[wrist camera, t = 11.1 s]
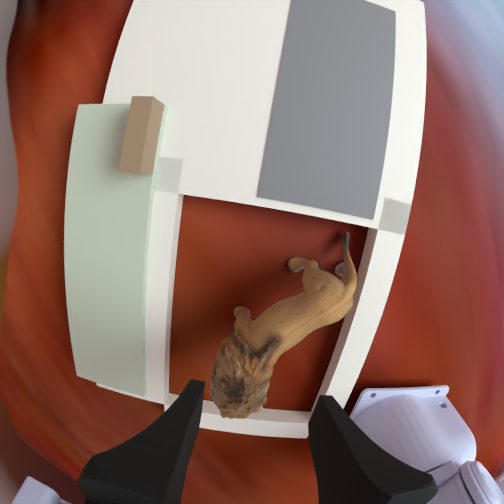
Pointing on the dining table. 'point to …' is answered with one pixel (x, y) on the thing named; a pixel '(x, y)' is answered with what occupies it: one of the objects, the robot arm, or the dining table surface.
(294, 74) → the puzzle board
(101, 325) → the shutter
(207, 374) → the dining table surface
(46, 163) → the dining table surface
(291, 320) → the lion figurine
